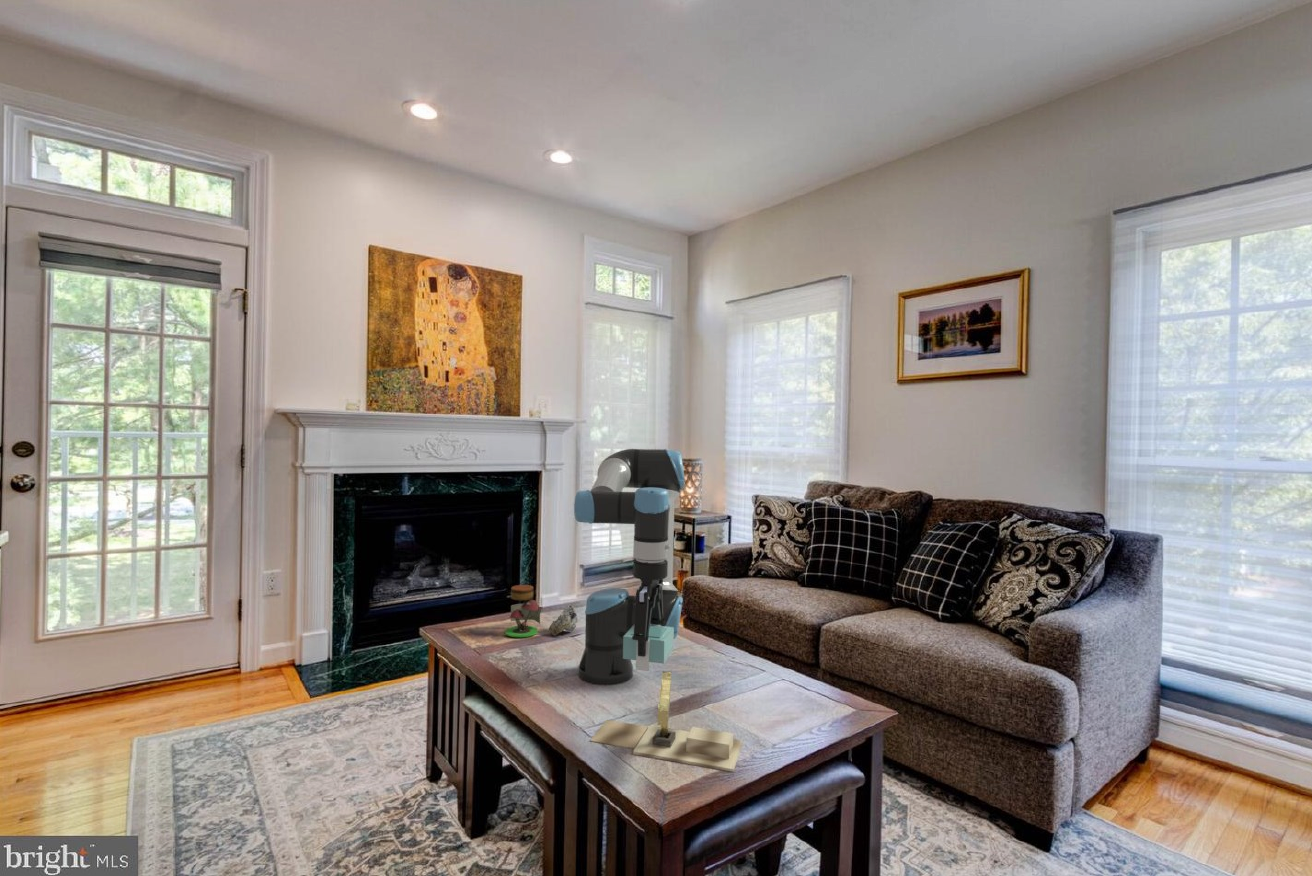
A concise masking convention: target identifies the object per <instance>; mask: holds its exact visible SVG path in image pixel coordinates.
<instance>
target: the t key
mask: <svg viewBox="0 0 1312 876" xmlns="http://www.w3.org/2000/svg"><path fill="white" fill-rule="evenodd" d="M661 675H662V676H661V684H660V689H659V691H660V692H659V698H658V699H659V700H658V706H657V726H660V727H661V736H660V737H662V738H668V728H669V714H670V704H671V692H672V671H664V670H663V671H662V674H661Z"/></svg>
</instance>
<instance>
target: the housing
mask: <svg viewBox="0 0 1312 876" xmlns="http://www.w3.org/2000/svg"><path fill="white" fill-rule="evenodd" d="M660 736H661V726H659V725H652V724H651V725H649V726H648V728H647V730H646V731H645V733H644V734H643V736H642V737H641V739H640V740H639V742H638V744H637V745H636V747H635V748H634V749H633V751H632V754H633V755H637V756H641V757H647V758H653V759H659V760H664V761H671V762H675V763H681V764H686V765H693V766H698V767H699V766H700V767H702V768H703V767H704V768H710V769H714V770H715V769H716V770H720V771H721V770H722V771H726V772H734V770H735V769H736V768H735V767H736V764H737V761H738V759H739V756H740V753H741V749H742V746H743V740H742V739H736V738H734V733H732V732H727V731H721V730H716V729H715V730H713V729H708V728H703V727H697V726H696V727H695V726H691V728H690V730H687V731H686V730H681V729H674V728H669V727H668V738H662V737H660Z"/></svg>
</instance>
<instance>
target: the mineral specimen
mask: <svg viewBox="0 0 1312 876" xmlns="http://www.w3.org/2000/svg"><path fill="white" fill-rule="evenodd" d="M578 621H579V619H578V615H577V613H576V609H575V607H574V606H573V604H569V605H568V606H567V607H566V608H564V609H563V611H562V613H560V614H559V616H558V617H557V619H556V620H553V621H552V623H551V624H550V626H549V627H548V631H549V632H550V633H551V634H552V636H558V634H560V633H562V632H563V630H566V631H567V632H573V631H575V628H577V625H576V623H578Z"/></svg>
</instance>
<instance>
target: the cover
mask: <svg viewBox="0 0 1312 876" xmlns="http://www.w3.org/2000/svg"><path fill="white" fill-rule="evenodd" d="M641 635H642V634H641ZM632 636H634V625H633V626H632V627H631V629H630V630H629V631H628V632H627V633H626V634H625V635H624V636H623V659H630V660H631V661H636V640H633V639H632ZM648 637H649V638H648V639H649V640H650V650H649V663H656V664H661V665H663V664H664V665H665V662H666V661H667V659H668V658H669V657H670V654H671V653H672V651H673V650H674V640H675V639H674V627H666V626H657V625H650V629H649V636H648Z"/></svg>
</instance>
